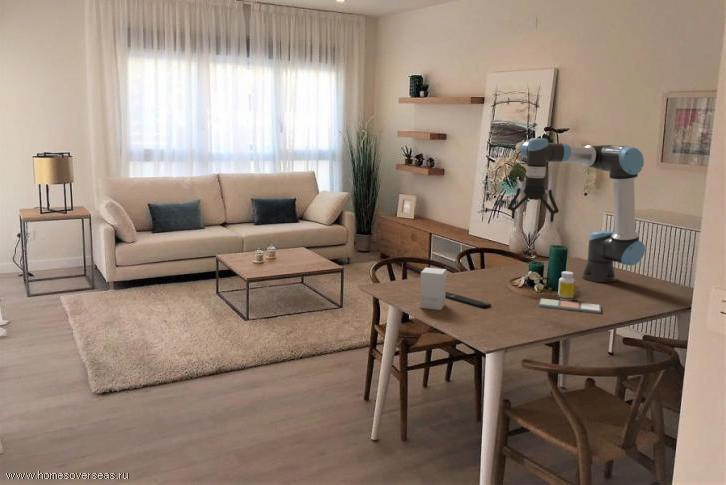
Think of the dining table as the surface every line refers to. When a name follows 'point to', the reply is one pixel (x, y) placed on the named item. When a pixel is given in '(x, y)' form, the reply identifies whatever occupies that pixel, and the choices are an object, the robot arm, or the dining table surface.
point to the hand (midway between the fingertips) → (531, 228)
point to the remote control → (467, 300)
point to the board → (570, 305)
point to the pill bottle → (566, 286)
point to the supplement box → (433, 288)
